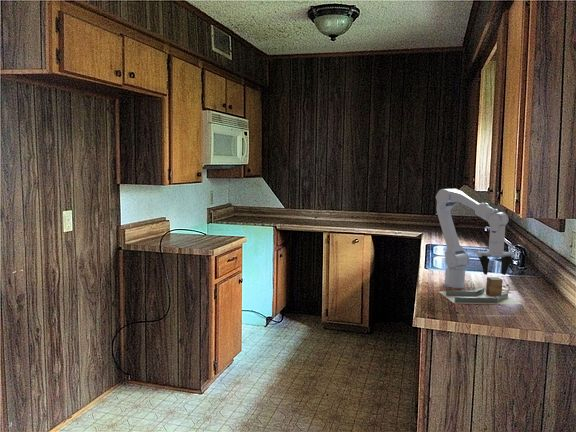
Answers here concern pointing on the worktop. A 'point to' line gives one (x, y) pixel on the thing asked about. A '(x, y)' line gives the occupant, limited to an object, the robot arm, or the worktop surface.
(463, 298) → the rails
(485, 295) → the channel board
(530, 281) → the worktop surface
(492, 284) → the walnut block
